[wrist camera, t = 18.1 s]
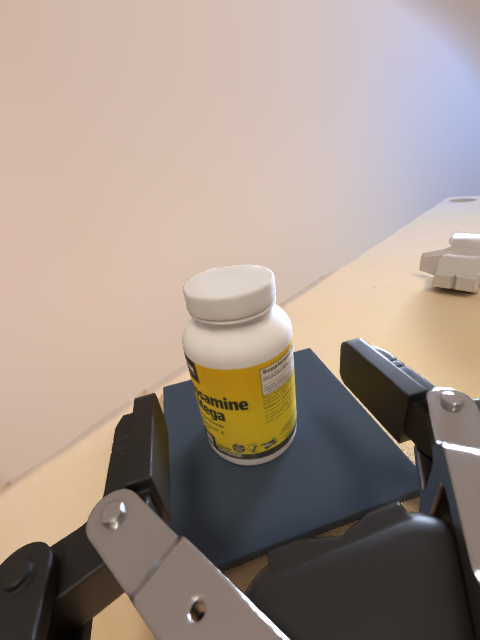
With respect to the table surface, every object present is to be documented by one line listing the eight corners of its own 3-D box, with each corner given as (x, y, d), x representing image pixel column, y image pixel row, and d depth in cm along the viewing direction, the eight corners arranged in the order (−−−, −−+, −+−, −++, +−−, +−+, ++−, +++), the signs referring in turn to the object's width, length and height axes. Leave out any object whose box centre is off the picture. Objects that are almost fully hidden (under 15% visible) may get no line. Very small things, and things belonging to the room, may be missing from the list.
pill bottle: (190, 435, 20) (143, 289, 14) (248, 385, 23) (228, 255, 18) (257, 492, 16) (225, 317, 10) (315, 421, 19) (313, 266, 14)
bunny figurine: (409, 259, 34) (448, 218, 42) (405, 295, 37) (442, 251, 45) (514, 269, 28) (537, 219, 35) (500, 312, 31) (524, 257, 38)
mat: (168, 592, 13) (165, 586, 12) (164, 392, 25) (163, 386, 25) (430, 491, 15) (433, 485, 15) (309, 352, 27) (309, 347, 27)
